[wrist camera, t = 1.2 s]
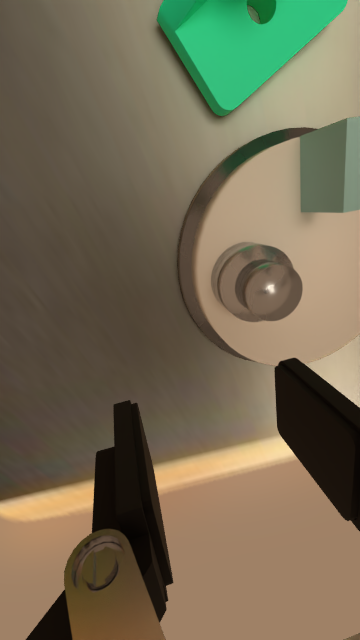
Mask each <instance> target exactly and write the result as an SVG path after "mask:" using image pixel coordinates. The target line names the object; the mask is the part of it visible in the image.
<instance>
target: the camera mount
mask: <svg viewBox="0 0 360 640" xmlns="http://www.w3.org/2000/svg"><path fill="white" fill-rule="evenodd" d="M347 1H348V0H164V1H163V3H162V5H161V6H160V9H159V13H158V17H157V21H158V23H159V24H160V26H161V28H162V29H163V31H164V33H165V34H166V36H167V38H168V39H169V41H170V42H171V44H172V46H173V47H174V49H175V51H176V52H177V54H178V55H179V57H180V59H181V60H182V62H183V64H184V65H185V67H186V69H187V70H188V72H189V73H190V75H191V77H192V78H193V80H194V82H195V83H196V85H197V86H198V88H199V90H200V91H201V93H202V95H203V96H204V98H205V99H206V101H207V103H208V104H209V106H210V108H211V109H212V111H213V112H214V113H215V114H217V115H219V116H225V115H227V114H229V113H230V112H232V111H233V110H234V109H235V108H237V107H238V106H239V105H240V104H241V103H242V102H243V101H244V100H245V99H247V98H248V97H249V96H250V95H251V94H252V93H253V92H254V91H255V90H256V89H258V88H259V87H260V86H261V85H262V84H263V83H264V82H265V81H266V80H267V79H269V78H270V77H271V76H272V75H273V74H274V73H275V72H276V71H277V70H278V69H280V68H281V67H282V66H283V65H284V64H285V63H286V62H287V61H288V60H289V59H291V58H292V57H293V56H294V55H295V54H296V53H297V52H298V51H299V50H300V49H302V48H303V47H304V46H305V45H306V44H307V43H308V42H309V41H310V40H311V39H313V38H314V37H315V36H316V35H317V34H318V33H319V32H320V31H321V30H322V29H323V28H325V27H326V26H327V25H328V24H329V23H330V22H331V21H332V20H333V19H334V18H336V17H337V16H338V15H339V14H340V13H341V12H342V11H343V10H344V8H345V6H346V4H347ZM247 5H250V6H252V7H253V8H255V10H256V11H257V12H258V14H259V17H260V24H258V23H256V22H254V21H253V20H252V19H251V17H250V15H249V13H248V10H247Z"/></svg>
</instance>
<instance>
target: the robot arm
mask: <svg viewBox="0 0 360 640" xmlns="http://www.w3.org/2000/svg"><path fill="white" fill-rule="evenodd" d="M275 390H276V412H277V428H278V431H279V433H280V435H281V437H282V438H283V439H284V441H285V442H286V443H287V445H288V446H289V447H290V449H291V450H292V451H293V453H294V454H295V455H296V456H297V458H298V459H299V460H300V462H301V463H302V464H303V466H304V467H305V468H306V470H307V471H308V472H309V473H310V475H311V476H312V477H313V479H314V480H315V481H316V483H317V484H318V485H319V487H320V488H321V489H322V491H323V492H324V493H325V494H326V496H327V497H328V499H329V500H330V501H331V502H332V504H333V505H334V506H335V508H336V509H337V510H338V512H339V513H340V514H341V516H342V517H343V518H344V519H345V520H347V521H349V520H351V521H352V523H353V524H354V525H355V526H356V528H357V529H358V530H359V531H360V408H359V407H358V406H357V405H355V404H354V403H353V402H352V401H350V400H349V399H348V398H347V397H345V396H344V395H343V394H341V393H340V392H339V391H338V390H336V389H335V388H334V387H333V386H331V385H330V384H329V383H328V382H326V381H325V380H324V379H323V378H321V377H320V376H319V375H317V374H316V373H315V372H314V371H312V370H311V369H310V368H309V367H307V366H306V365H305V364H304V363H302V362H301V361H300V360H298V359H297V358H290V359H286V360H283V361H280V362H279V364H278V366H276V367H275ZM114 444H115V447H112V448H108V449H104V450H101V451H97V453H96V463H95V483H94V503H93V523H92V534H90V535H89V536H87V537H86V538H85V539H83V540H82V541H81V542H80V543H79V544H78V545H77V547H76V548H75V549H74V550H73V552H72V554H71V555H70V557H69V559H68V561H67V565H66V568H65V571H64V586H65V590H64V591H63V592H62V594H61V595H60V596H59V597H58V599H57V600H56V601H55V603H54V604H53V605H52V606H51V608H50V609H49V610H48V612H47V613H46V614H45V615H44V617H43V618H42V620H41V621H40V622H39V623H38V625H37V626H36V627H35V628H34V630H33V631H32V632H31V633H30V635H29V636H28V638H27V639H26V640H166V639H165V636H164V634H163V631H162V629H161V626H160V621H161V619H162V617H163V615H164V613H165V611H166V602H167V601H168V597H167V590H166V586H167V585H169V584H172V583H173V578H172V572H171V566H170V560H169V555H168V549H167V544H166V538H165V532H164V526H163V520H162V515H161V509H160V503H159V497H158V492H157V486H156V480H155V474H154V469H153V465H152V460H151V456H150V452H149V448H148V444H147V440H146V436H145V432H144V428H143V424H142V420H141V416H140V412H139V408H138V404H137V403H134V404H131V402H130V400H128V401H125V402H121V403H117V404H114ZM345 640H360V633H359V634H356V635H354V636H352V637H349V638H347V639H345Z"/></svg>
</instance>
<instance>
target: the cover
mask: <svg viewBox="0 0 360 640" xmlns="http://www.w3.org/2000/svg"><path fill="white" fill-rule="evenodd" d="M211 287H212V291H213V294H214V296H215V298H216V299H217V301H218V302H219V303H220V304H221V305H222V306H223V307H225V308H226V309H227V310H228V311H229V312H231V313H232V314H233V315H234V316H235V317H237V318H239V319H241V320H243V321H247V322H260V321H264V320H265V321H278V320H281V319H283V318H285V317H287V316H288V315H290V314H291V313H292V312H293V311H294V310H295V308H296V307H297V306H298V304H299V302H300V300H301V296H302V291H303V286H302V281H301V278H300V276H299V274H298V273H297V272H296V271H295V270H294V268H293V265H292V263H291V261H290V259H289V258H288V256H287V255H286V254H285V253H284V252H282V251H281V250H279V249H277V248H275V247H272V246H268V245H264V244H259V243H255V242H241V243H237V244H235V245H233V246H231V247H229V248H228V249H226V250H225V251H224V252H223V253H222V254H221V255H220V256H219V258H218V259H217V261H216V263H215V265H214V267H213V270H212V274H211Z"/></svg>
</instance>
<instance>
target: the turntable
mask: <svg viewBox="0 0 360 640" xmlns="http://www.w3.org/2000/svg"><path fill="white" fill-rule="evenodd" d="M241 242H255V243H259V244H264V245H268V246H272V247H275V248H277V249H279V250H281V251H282V252H284V253H285V254H286V255H287V256H288V258H289V259H290V261H291V263H292V265H293V268H294V270H295V271H296V272H297V273H298V274H299V276H300V278H301V281H302V286H303V291H302V296H301V300H300V302H299V304H298V306H297V307H296V308H295V310H294V311H293V312H292V313H291V314H290V315H288V316H287V317H285V318H283V319H281V320H278V321H265V320H264V321H260V322H247V321H243V320H241V319H239V318H237V317H235V316H234V315H233V314H232V313H231V312H229V311H228V310H227V309H226V308H225V307H223V306H222V305H221V304H220V303H219V302H218V301H217V299H216V298H215V296H214V294H213V291H212V287H211V274H212V270H213V267H214V265H215V263H216V261H217V259H218V258H219V256H220V255H221V254H222V253H223V252H224V251H225V250H226V249H228V248H229V247H231V246H233V245H235V244H237V243H241ZM191 269H192V281H193V286H194V291H195V295H196V298H197V301H198V304H199V306H200V309H201V310H202V312H203V314H204V316H205V318H206V320H207V321H208V322H209V324H210V325H211V326H212V328H213V329H214V330H215V331H216V332H217V334H218V335H219V336H220V337H221V338H222V339H223V340H224V341H225V342H226V343H227V344H228V345H229V346H230V347H231V348H233V349H234V350H235V351H237V352H238V353H239V354H241V355H243V356H245V357H247V358H249V359H251V360H254V361H256V362H259V363H263V364H268V365H274V366H278V364H279V362H280V361H283V360H286V359H290V358H297V359H298V360H300V361H301V362H302V363H304V364H305V363H309V362H312V361H315V360H318V359H321V358H323V357H325V356H328V355H330V354H332V353H333V352H335V351H337V350H339V349H340V348H342V347H343V346H345V345H346V344H348V343H349V342H350V341H352V340H353V339H354V338H355V337H356V336H357V335H359V334H360V117H352V118H346V119H344V120H341V121H339V122H336V123H333V124H331V125H328V126H325V127H323V128H320V129H318V130H315V131H312V132H310V133H307V134H304V135H302V136H300V137H297V138H293V139H290V140H288V141H285V142H282V143H280V144H277V145H275V146H272V147H269V148H267V149H264V150H262V151H260V152H259V153H257V154H255V155H253V156H252V157H250V158H248V159H247V160H246V161H244V162H243V163H242V164H240V165H239V166H238V167H237V168H235V169H234V170H233V171H232V172H231V173H230V174H229V175H228V176H227V177H226V178H225V179H224V181H223V182H222V183H221V185H220V186H219V187H218V189H217V190H216V191H215V192H214V194H213V196H212V197H211V199H210V201H209V202H208V204H207V206H206V208H205V210H204V212H203V215H202V217H201V219H200V221H199V225H198V228H197V231H196V234H195V238H194V244H193V250H192V264H191Z"/></svg>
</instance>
